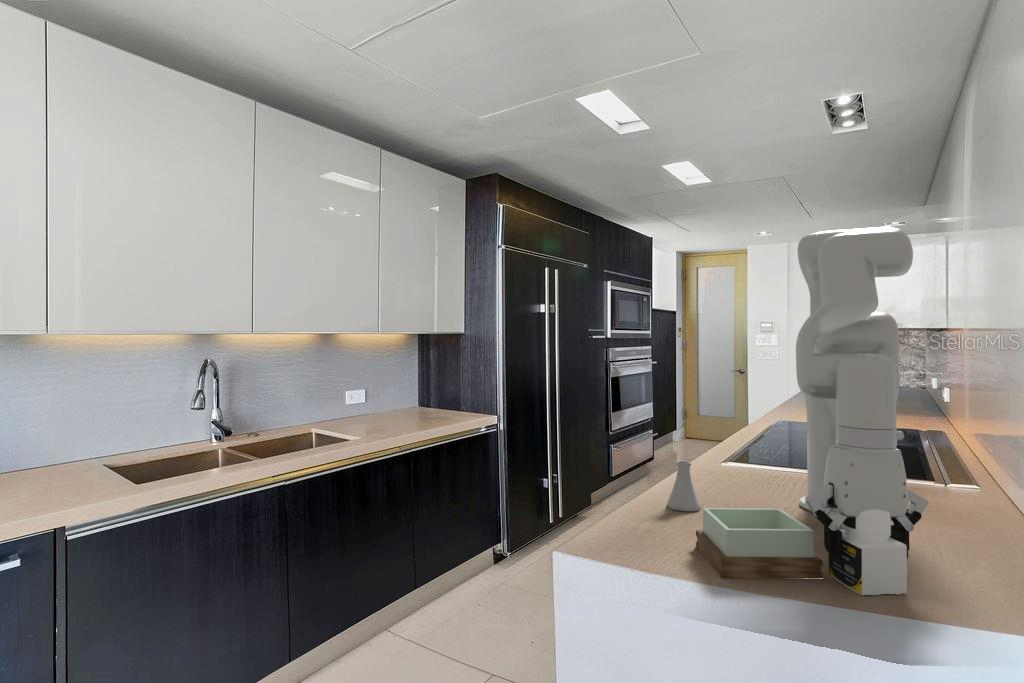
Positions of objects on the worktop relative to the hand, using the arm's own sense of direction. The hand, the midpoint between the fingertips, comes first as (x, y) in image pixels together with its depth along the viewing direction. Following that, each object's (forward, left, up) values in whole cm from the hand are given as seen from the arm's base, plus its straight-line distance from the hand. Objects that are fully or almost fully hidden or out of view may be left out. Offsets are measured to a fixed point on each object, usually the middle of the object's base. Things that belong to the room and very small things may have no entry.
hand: (866, 554), depth 81 cm
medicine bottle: (0, 0, -5) cm, 5 cm away
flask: (+16, -38, -5) cm, 42 cm away
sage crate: (+13, -8, -1) cm, 15 cm away
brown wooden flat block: (+13, -8, -4) cm, 16 cm away
